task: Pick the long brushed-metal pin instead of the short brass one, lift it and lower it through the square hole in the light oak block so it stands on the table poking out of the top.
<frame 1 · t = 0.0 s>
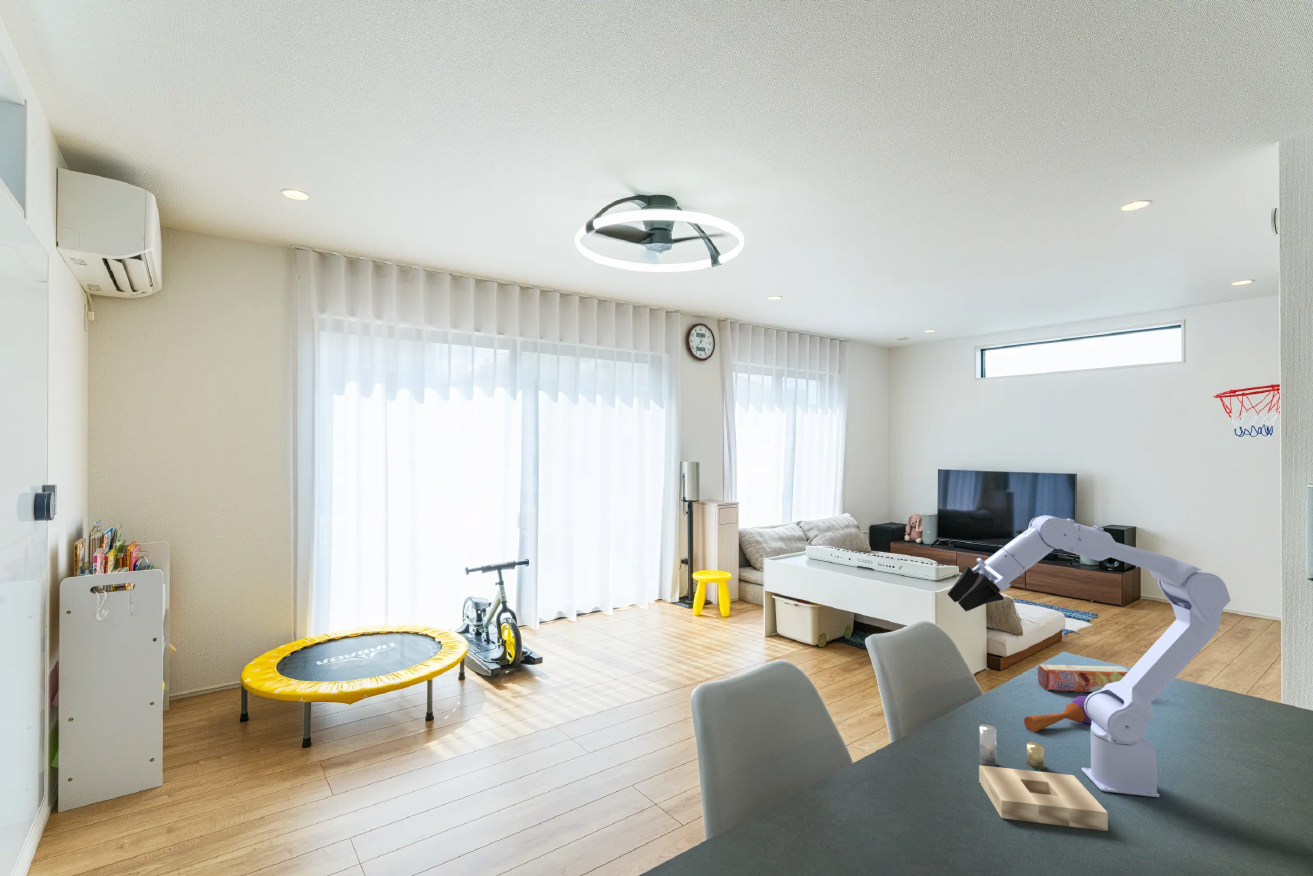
hand: (956, 602, 121), 32 cm above the table, tool tilted 50°, fingers open, 7 cm apart
long pin: (988, 763, 122), on the table
maraca: (1063, 727, 140), on the table
short pin: (1035, 765, 121), on the table
hole block: (1039, 804, 108), on the table
snack package: (1084, 692, 161), on the table
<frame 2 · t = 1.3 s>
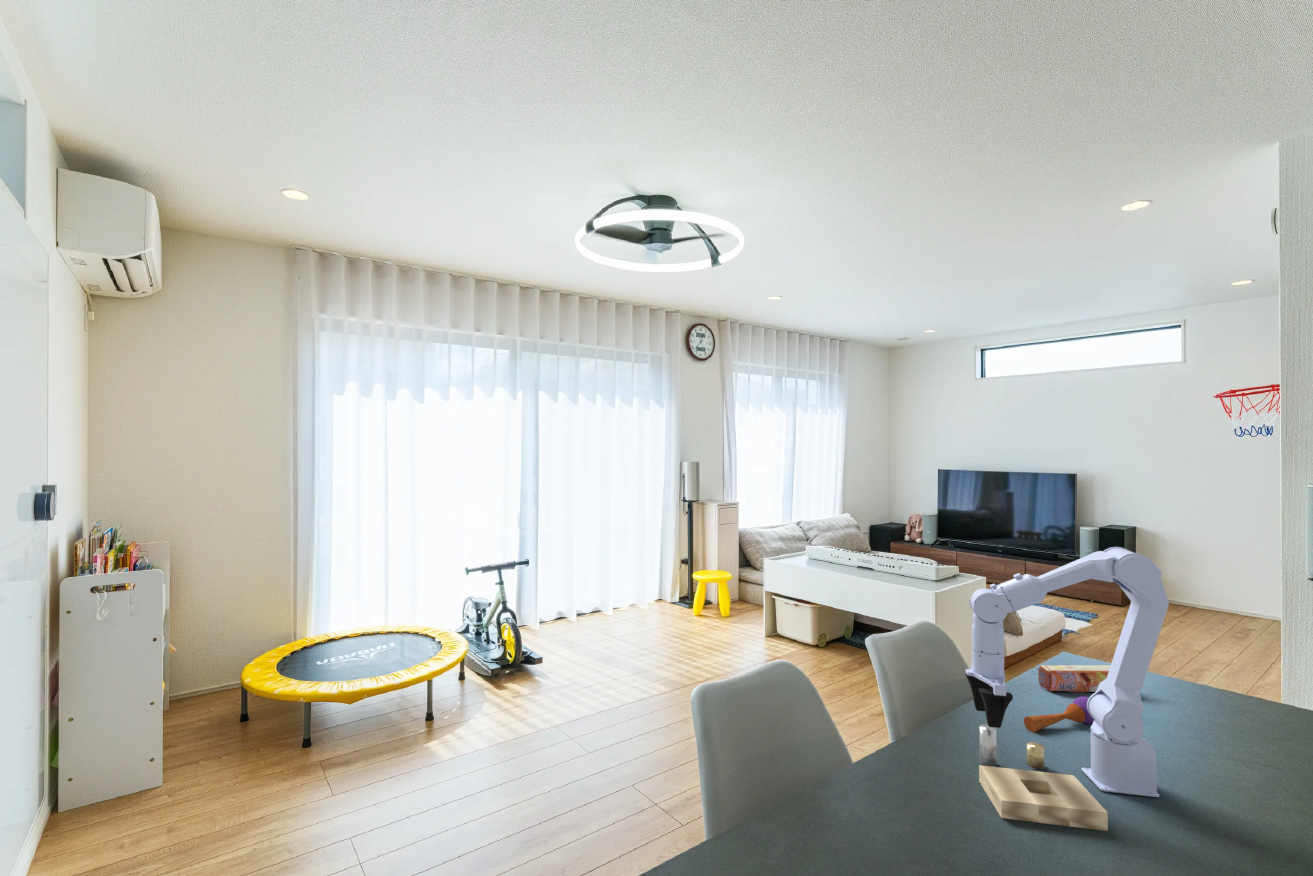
hand: (987, 718, 122), 9 cm above the table, tool pointing down, fingers open, 7 cm apart
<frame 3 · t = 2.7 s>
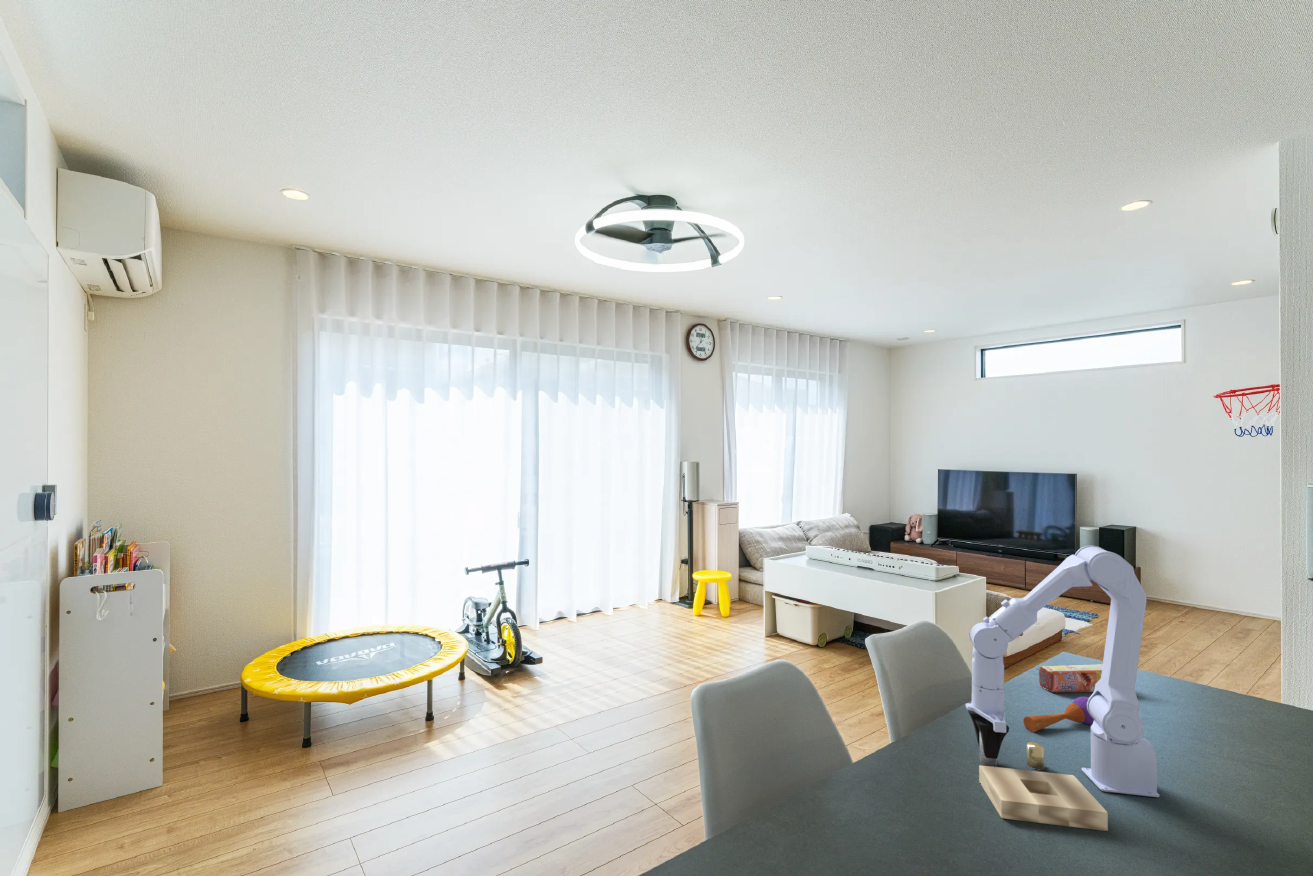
hand: (988, 753, 122), 2 cm above the table, tool pointing down, fingers closed on long pin, 3 cm apart
long pin: (988, 763, 122), on the table, touching gripper
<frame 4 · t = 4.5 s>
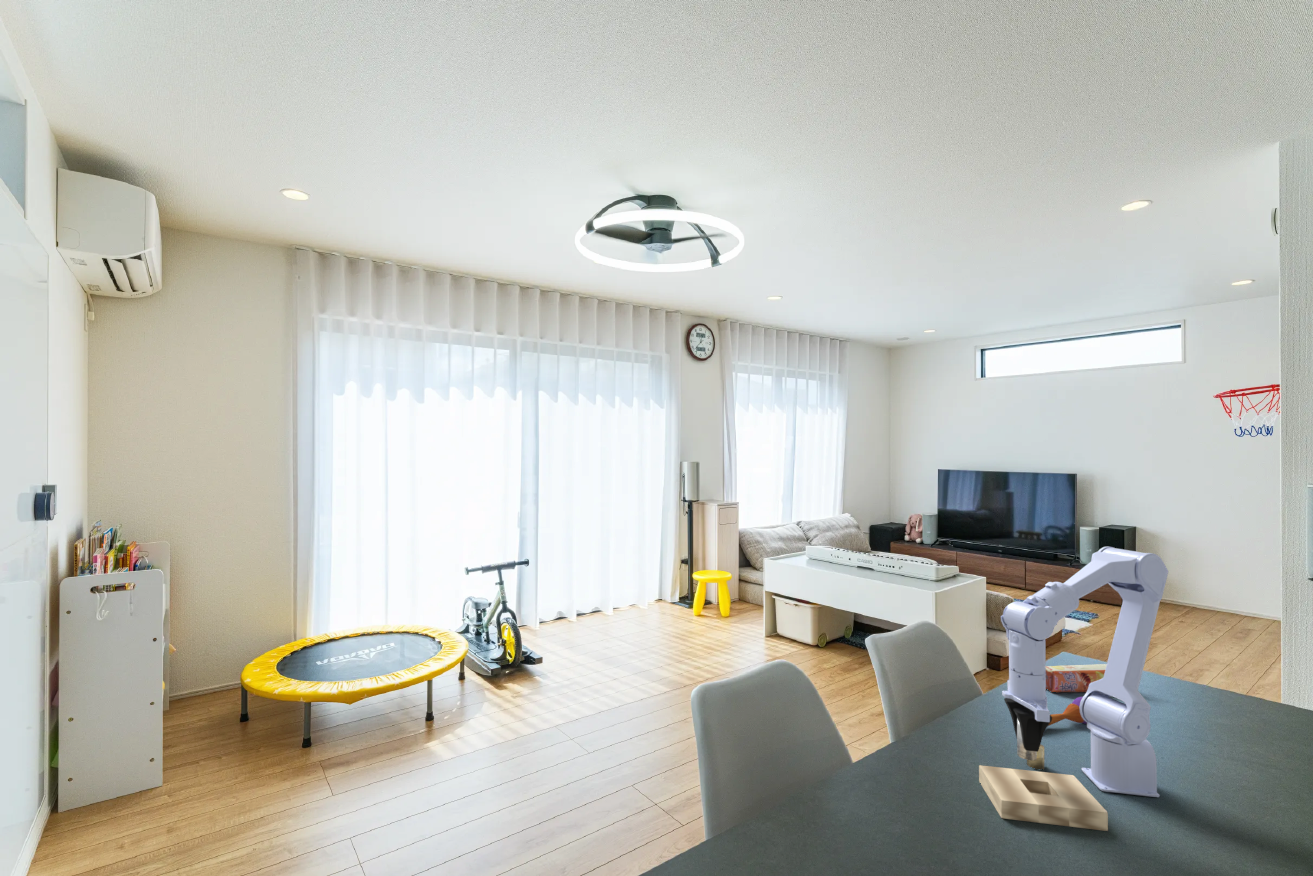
hand: (1027, 745, 111), 9 cm above the table, tool pointing down, fingers closed on long pin, 3 cm apart
long pin: (1026, 756, 111), point 7 cm above the table, touching gripper
everything else where it was.
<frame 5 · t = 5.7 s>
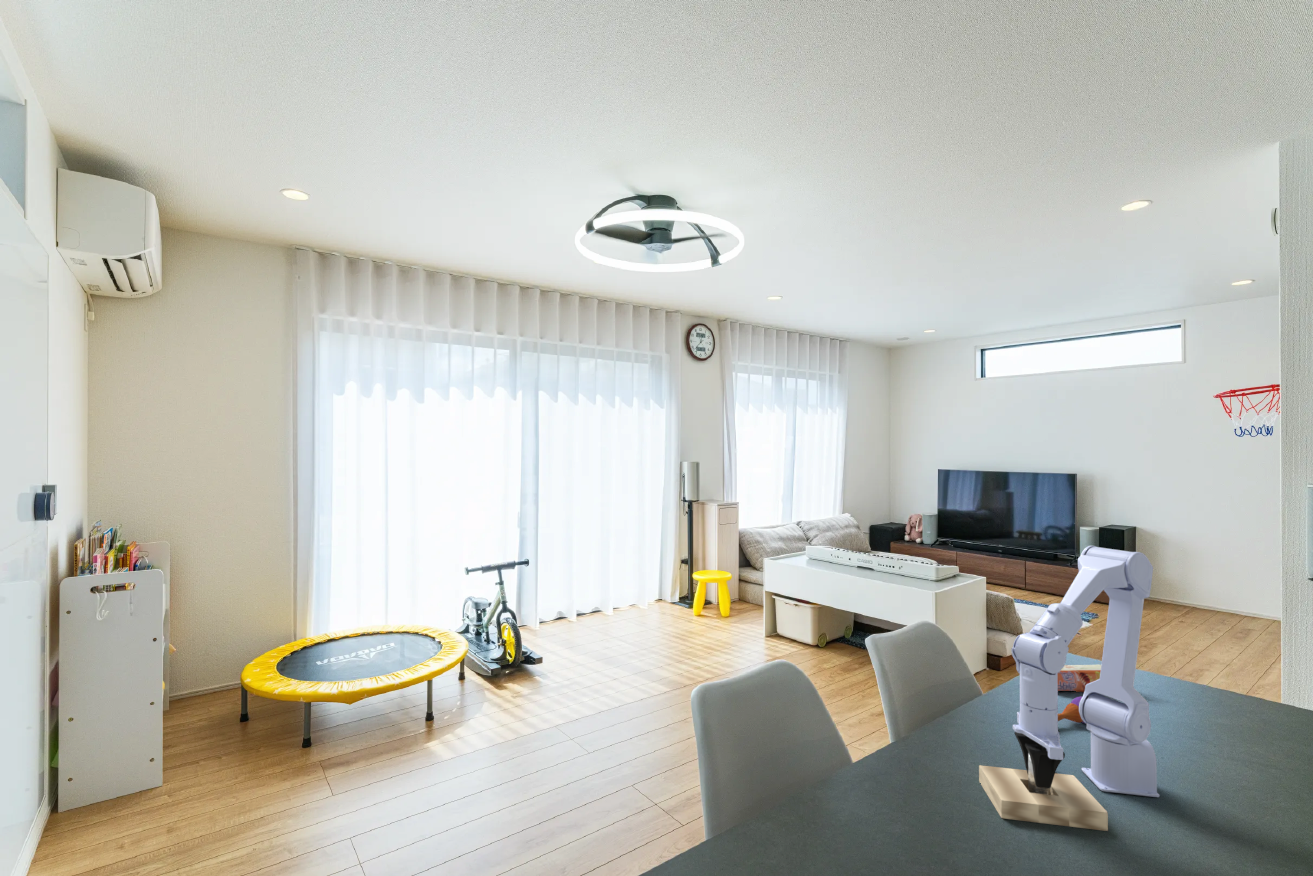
hand: (1038, 781, 108), 4 cm above the table, tool pointing down, fingers closed on long pin, 3 cm apart
long pin: (1038, 792, 108), point 2 cm above the table, touching gripper
everything else where it was.
when the fingers open (4 cm above the table, at t = 6.4 s): long pin drops 2 cm, resting in hole block.
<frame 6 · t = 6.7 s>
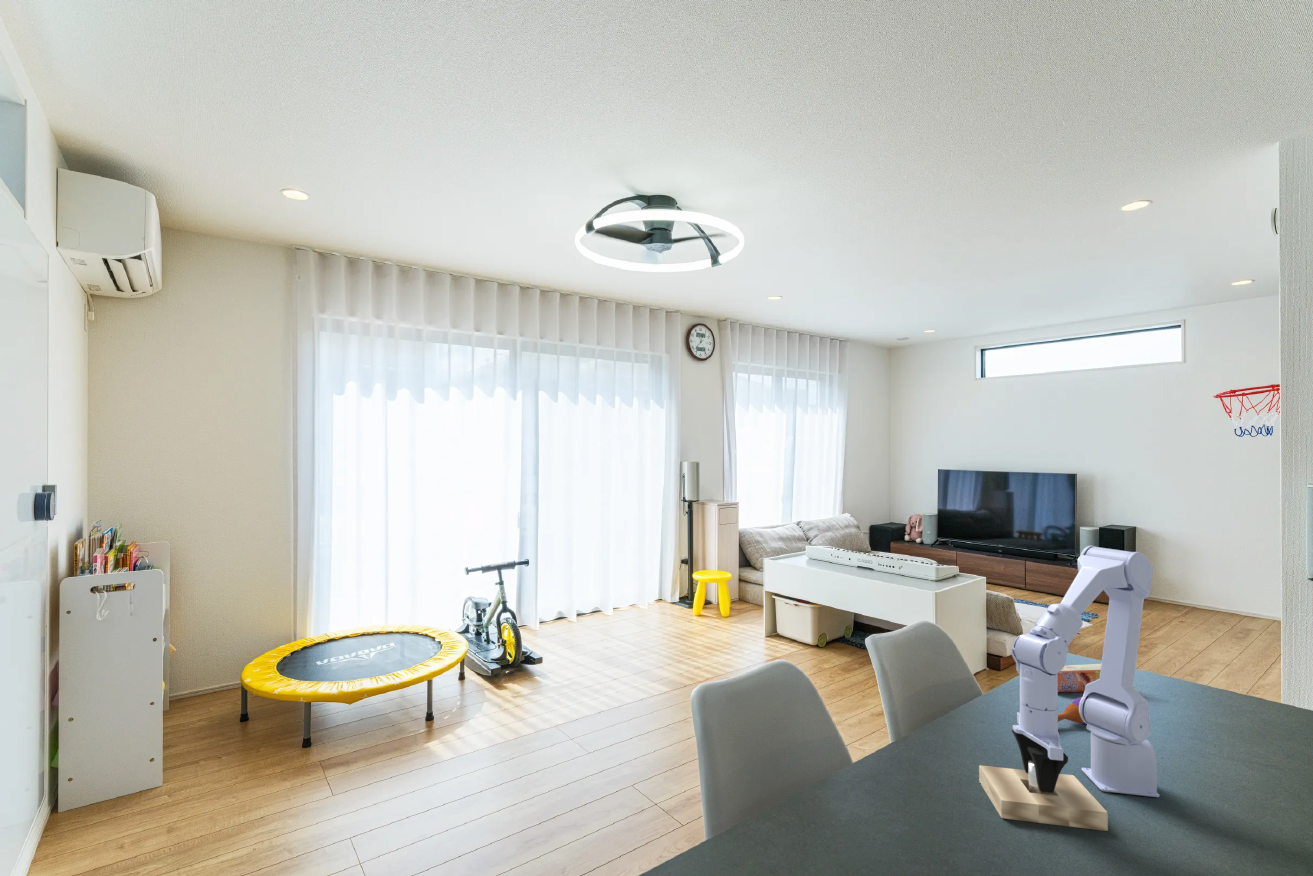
hand: (1038, 782, 108), 4 cm above the table, tool pointing down, fingers open, 5 cm apart
long pin: (1038, 804, 108), resting in hole block
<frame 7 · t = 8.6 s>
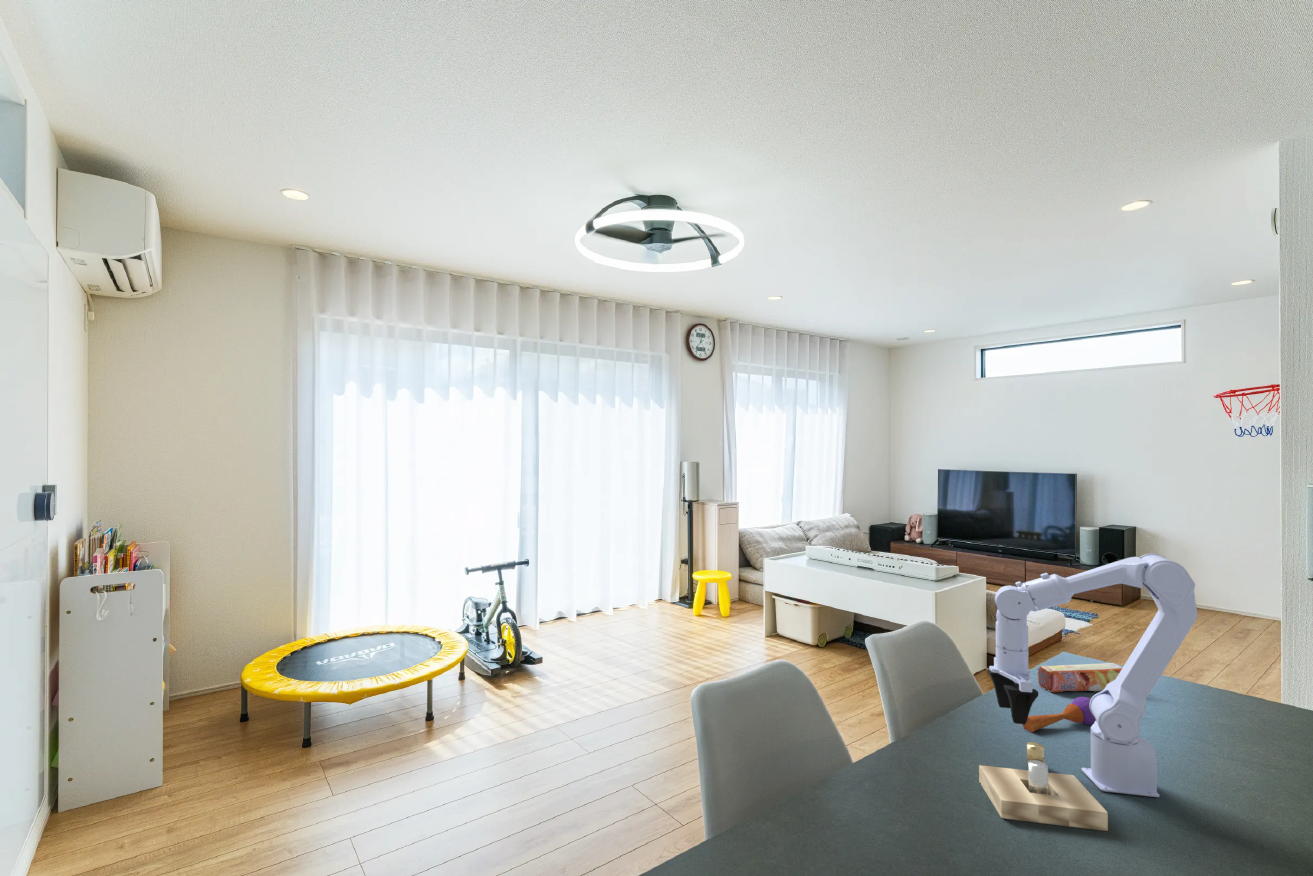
hand: (1011, 715, 123), 9 cm above the table, tool pointing down, fingers open, 7 cm apart
nothing on the table moved.
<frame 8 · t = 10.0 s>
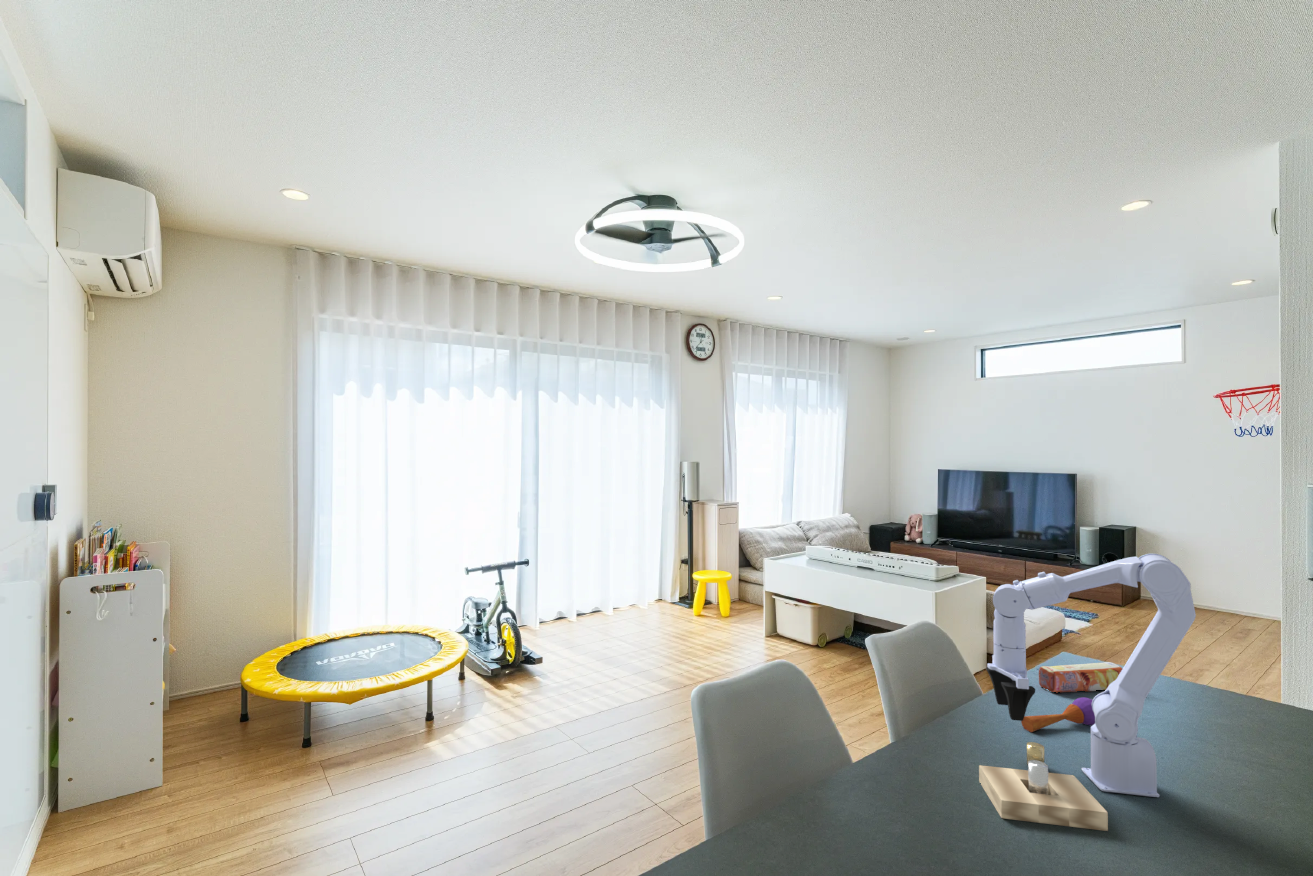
hand: (1009, 711, 124), 9 cm above the table, tool pointing down, fingers open, 7 cm apart
at the end: long pin 0.1 cm off-centre on the hole block, point 0.0 cm above the hole block's base; long pin tilted 0°; short pin moved 0.0 cm from its start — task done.
